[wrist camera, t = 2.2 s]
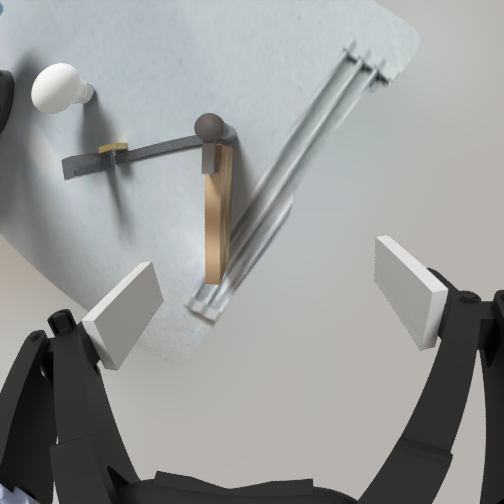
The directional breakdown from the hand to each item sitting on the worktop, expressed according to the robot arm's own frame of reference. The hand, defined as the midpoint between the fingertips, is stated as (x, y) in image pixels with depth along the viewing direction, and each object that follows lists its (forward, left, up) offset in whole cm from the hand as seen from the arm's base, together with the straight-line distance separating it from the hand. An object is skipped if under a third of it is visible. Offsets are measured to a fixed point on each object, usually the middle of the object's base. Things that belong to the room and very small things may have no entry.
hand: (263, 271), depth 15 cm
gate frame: (-12, +10, -19) cm, 24 cm away
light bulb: (-23, +20, -19) cm, 36 cm away
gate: (-5, +2, -18) cm, 19 cm away
